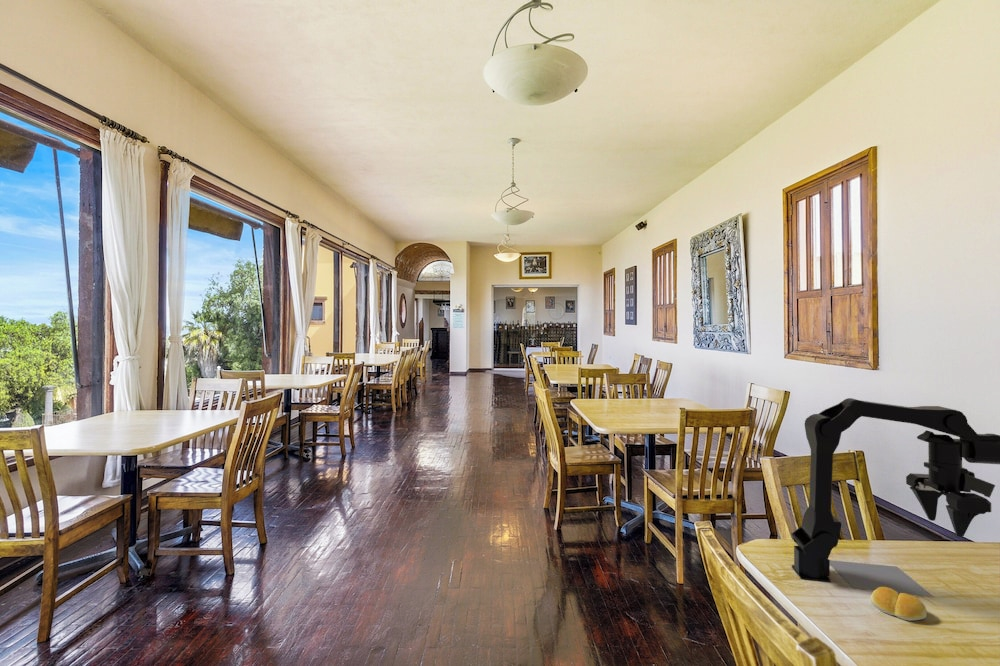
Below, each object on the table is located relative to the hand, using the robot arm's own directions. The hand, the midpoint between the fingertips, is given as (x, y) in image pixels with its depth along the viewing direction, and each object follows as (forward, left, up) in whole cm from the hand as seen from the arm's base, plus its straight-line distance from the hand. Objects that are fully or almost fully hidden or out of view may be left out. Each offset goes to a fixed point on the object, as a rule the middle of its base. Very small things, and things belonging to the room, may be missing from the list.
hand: (945, 527), depth 108 cm
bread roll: (-13, -12, -15) cm, 23 cm away
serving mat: (-13, +3, -15) cm, 20 cm away
